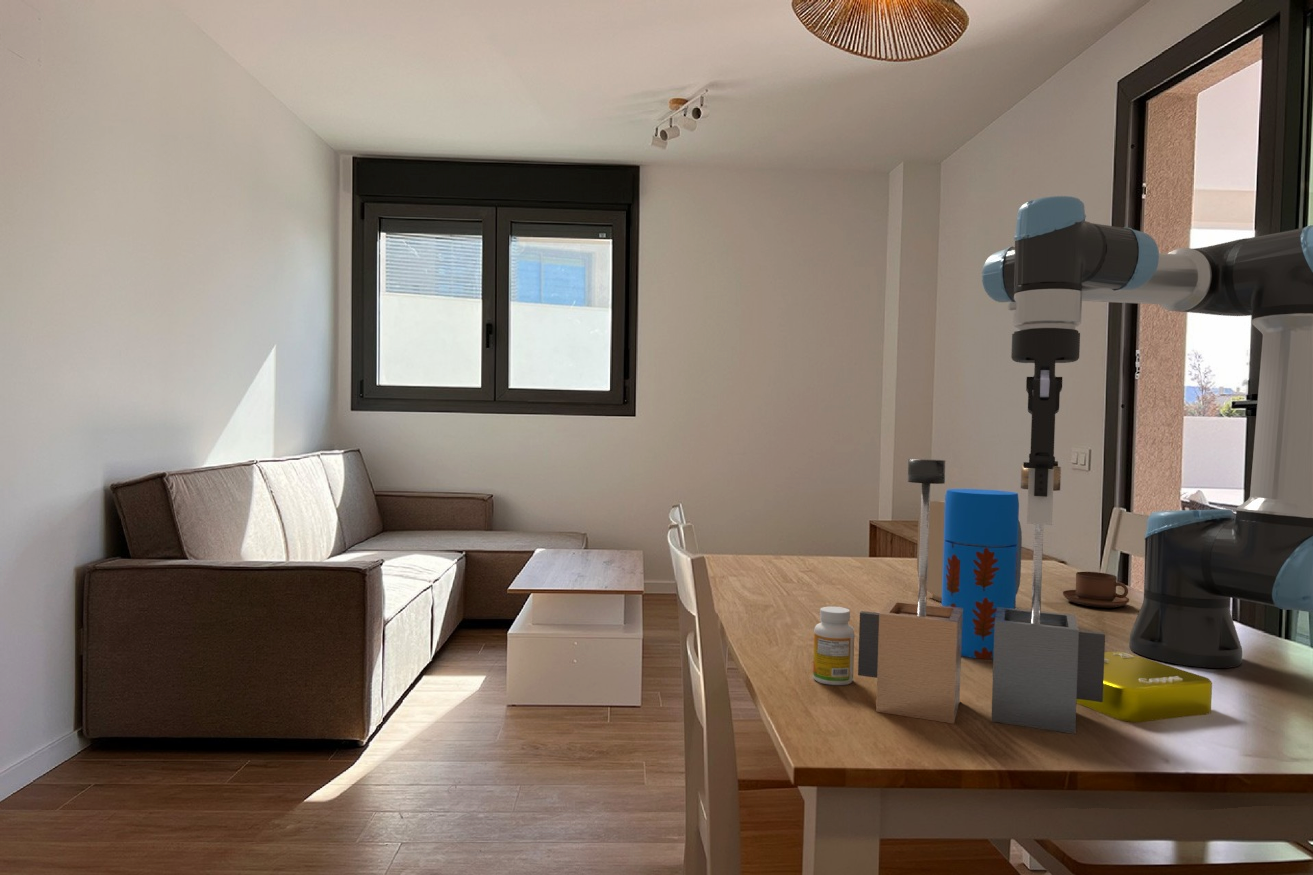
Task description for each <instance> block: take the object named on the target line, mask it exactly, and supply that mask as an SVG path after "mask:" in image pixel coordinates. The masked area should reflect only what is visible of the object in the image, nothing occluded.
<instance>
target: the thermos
mask: <svg viewBox="0 0 1313 875" xmlns="http://www.w3.org/2000/svg"><path fill="white" fill-rule="evenodd" d="M945 494H946V498H945V497H944V501H945V516H944V539H945V540H944V547H943V578H942V602H941V606H950V607H959V608H963V615H962V645H961V657H965V658H972V659H981V660H982V659H983V660H993V657H994V627H995V617H996V611H997V607H1003V608H1013V609H1016V605H1017V604H1016V603H1017V601H1016V600H1017V597H1016V596H1017V594H1016V577H1017V548H1018V545H1017V543H1018V520H1019V516H1020V515H1019V514H1020V513H1019V511H1020V503H1019V501H1020V500H1019V493H1018V492H1013V491H1007V490H1006V491H1005V490H995V489H994V490H993V489H979V488H978V489H977V488H949V489H946V492H945Z"/></svg>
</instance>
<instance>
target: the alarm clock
mask: <svg viewBox="0 0 1313 875" xmlns="http://www.w3.org/2000/svg"><path fill="white" fill-rule="evenodd" d="M945 498H946V493H945V494H944V499H945ZM944 516H945V500H933V501H931V500H930V506H929V537H928V568H927V593H929V594H931V595H932V600H936V601H937V602H941V603H942V578H943V547H944V540H945V539H944ZM917 523H918V524H917V546H916V547H917V548H916V550H917V551H916V552H917V554H916V570H917V577H918V578H919V554H920V523H921V510H920V511H919V517H918V522H917ZM1022 533H1023V532H1022V527H1021V522H1020V520H1019V519H1018V543H1017V545H1018V548H1017V577H1016V595H1018V592H1019V590H1020V585H1021V584H1020V583H1021V571H1022V570H1021V569H1022V568H1021V567H1022V547H1023V546H1022V545H1023V544H1022V543H1023V541H1022V540H1023V538H1022Z"/></svg>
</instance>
